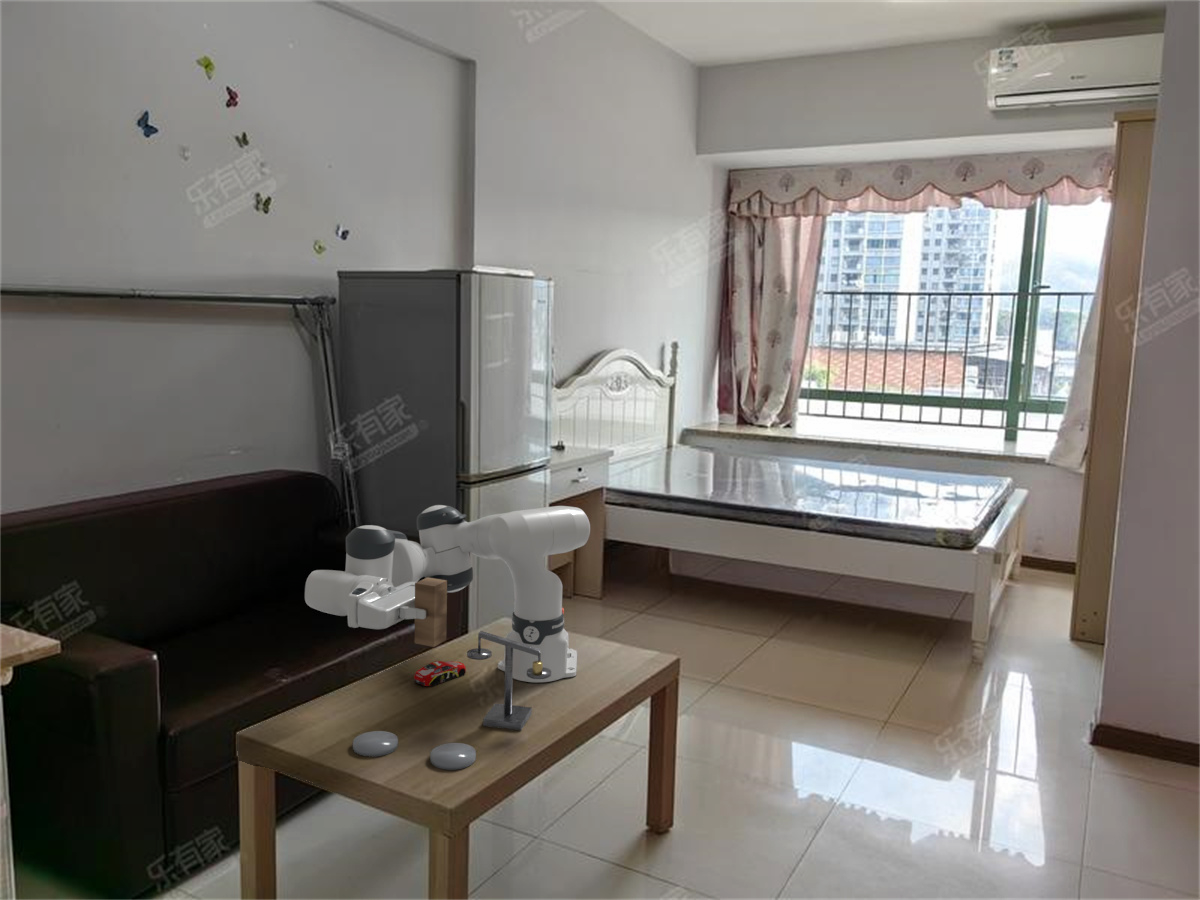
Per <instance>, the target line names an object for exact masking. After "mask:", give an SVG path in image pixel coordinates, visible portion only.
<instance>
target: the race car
mask: <svg viewBox="0 0 1200 900" xmlns="http://www.w3.org/2000/svg"><path fill="white" fill-rule="evenodd" d="M466 669H467V667H466V665H465V664H464V663H462V662H461V661H442V660H436V661H432V662H430V663H428V664H426V665H424V666H422V667H420V668H419V669H418V670H416V671H415V673H414V675H413V683H416V684H419V685H421V686H425V687H431V686H433V687H435V686H438V685H439V684H441V683H444V682H447V681H450V680H452V679H456V678H458V677H460V678H461V677H462V676H465V674H467V673H466V672H467V671H466Z"/></svg>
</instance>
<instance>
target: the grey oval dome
mask: <svg viewBox="0 0 1200 900" xmlns="http://www.w3.org/2000/svg"><path fill="white" fill-rule="evenodd" d="M398 742H399V738H398V736H397V735H396V734H394V733H392V732H389V731H385V730H373V731H367V732H364V733H360V734H359V735H357V736H356V737H354V738H353V740H352V751H353V750H354V751H353V753H355V754H356V753H357V755H358V754H360V755H359V756H361V755H363V757H366V756H369V758H373V757H375V758H376V757H382V756H387V755H389V754H391V753H393V752H395V751H396V750H397V749H398V746H399V743H398ZM370 756H372V757H370Z"/></svg>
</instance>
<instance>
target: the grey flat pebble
mask: <svg viewBox="0 0 1200 900" xmlns="http://www.w3.org/2000/svg"><path fill="white" fill-rule="evenodd" d="M476 751H477V750H476V749H475V748H474V747H473V746H472V745H469V744H467V743H461V742H449V743H443V744H440V745H437V746H436V747H434V748H433V749H432V750H431V751H430V754H429V755H430V759H429V760H430V763H431V765H432V766H434V767H435V768H437V769H440V770H445V771H446V770H447V771H455V770H462V769H465V768H468V767H470V766H471V765H473V764H475V762H476V758H477V757H476V755H477V752H476Z"/></svg>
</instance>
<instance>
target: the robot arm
mask: <svg viewBox="0 0 1200 900" xmlns="http://www.w3.org/2000/svg"><path fill="white" fill-rule="evenodd" d="M466 517H467V514H465V513H461V512H460V511H459V510H458V509H456V508H455V507H453V506H452V505H451V506H450V505H443V504H435V505H432V506H429V507H427V508H426V509H424V510H423V511H422V512H421V513H419V514H418V515H417V516H416V530H417V531H418V533H419V534H418V535H419V542H420V543H418V542H417V541H413V540H408V537H407V535H406V534H405V533H403V532H401V531H399V530H398V531H396V530H390V529H386V528H385V527H382V526H380V525H373V524H370V525H369V524H368V525H367V524H366V525H361V526H358V527H354V528H353V529H352V530H351V531H350V532H349V533H348V534H347V535H346V536H345V552H346V554H345V570H344V571H343V570H333V569H316V570H313V571H311V573H310V574H309V575H308V577H307V578H306V581H305V584H304V594H303V595H304V601H305V603H306V605H307V606H309V607H310V608H311V609H314V610H317V611H320V612H321V613H325V614H326V613H327V614H328V615H329V614H330V615H335V616H340V617H346V616H347V626H348V627H349V628H353V629H355V628H359V627H360V628H365V629H372V630H384V629H388V628H390V627H391V626H393V625H396V624H397V623H399V622H401V621H403V620H413V619H414V620H415V619H416V618H418V619H425V618H427V617H428V616H429V614H428V612H429V610H428V609H427V608H422V607H420V608H415V583H416V582H418V581H420V579H422V578H424V579H425V578H427V577H429V578H435V579H441V580H447V593H456V592H459V591H461V590H463V589H464V588H466V587H467V586H469V585H470V584H471V583H472V582H473V579H474V568H473V567H472V564H471V563H472V562H471V558H470V554H472V555H473V556H475V557H478V558H481V559H485V560H501V561H502V562H503V563H505V564H506V566H507V568H508V569H509V572H510V574H511V578H512V580H513V581H512V582H513V592H514V596H513V597H514V601H513V602H514V604H513V605H514V606H513V607H514V609H513V610H514V611H513V612H512V616H511V628H512V629H511V630H510V631H509V632H508V633H507V634H506V636H505V638H506V639H509V640H512V641H515V642H519V643H522V644H525V645H528V646H531V647H535V648H538V649H541V651H540V652H541V661H542V662H543V667H544V668H548V669H550V670H551V676H550V677H548V678H545V679H533V678H530V677H528V676H527V670H528V669H530V668H533V662H534V661H538V656H537V655H533V654H530V653H527V652H524V651H521V650H518V649H514V648H513V679H514V680H517V681H521V682H528V683H548V682H549V683H550V682H553V681H554V682H555V681H557V680H561V679H564V678H572V677H575V676H576V675H577V668H578V666H577V665H578V650H577V649H573V648H570V647H569V643H570V642H569V641H570V636H569V635H570V634H569V633H568V631H566V629H565V628H564V627H565V617H564V614H565V609H564V607H563V588H564V587H563V583H562V580H561V578H560V576H558V575H557V574H556V573H554V572H553V571H551V570H550V569H546V565H545V557H547V556H552V555H558V554H559V555H560V554H564V553H568V552H572V551H574V550H576V549H579V548H581V547H583V546H585V545H586V544H587V542H588V540H589V538H590V534H591V523H590V521H589V517H588V516H587V514H586V513H585V511H584V510H583V509H581V508H579V507H575V506H570V505H569V506H567V505H555V506H546V507H538V508H529V509H521V510H513V511H509V512H504V513H495V514H490V515H486V516H483V517H481V518H478V519H475V520H472V521H467V520H466V519H464V518H466ZM503 655H504V657H503V659H502V660H500V661H499V662H498V663H497V669H498V670H501V671H503V672H505V652H504V654H503Z"/></svg>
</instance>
